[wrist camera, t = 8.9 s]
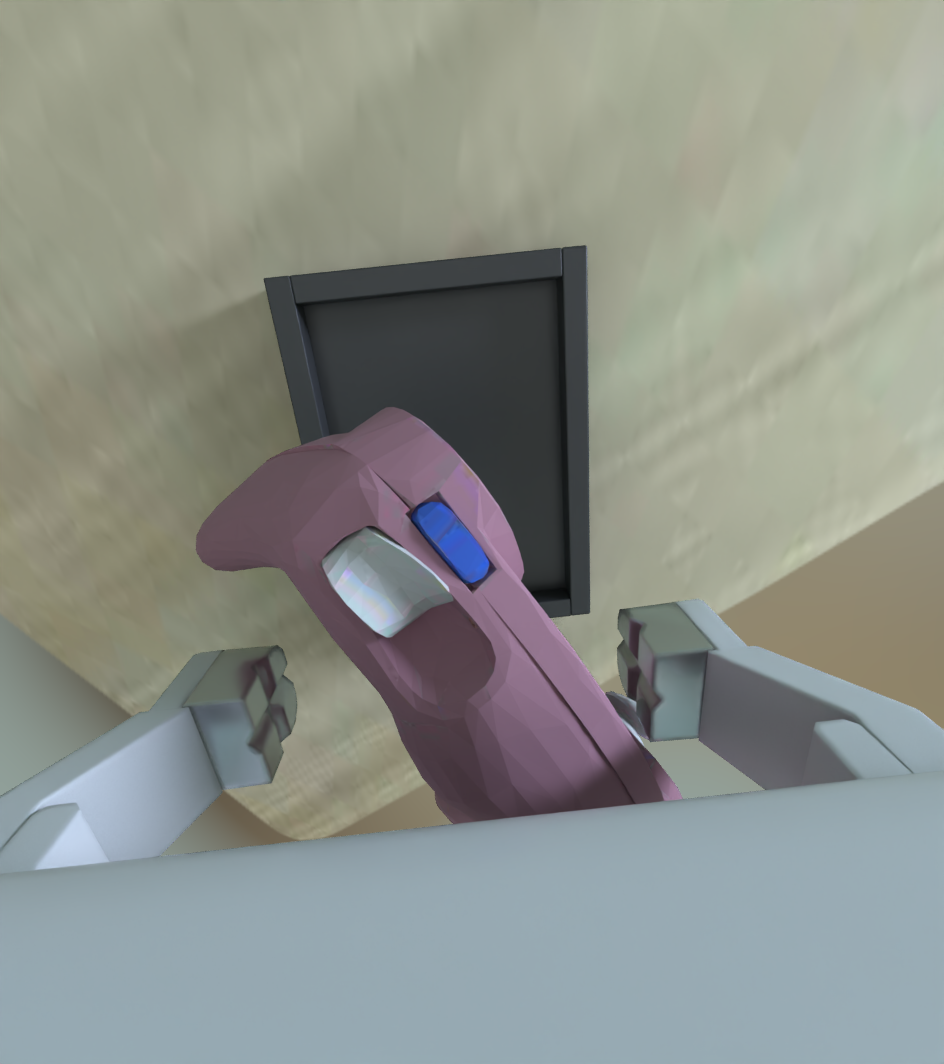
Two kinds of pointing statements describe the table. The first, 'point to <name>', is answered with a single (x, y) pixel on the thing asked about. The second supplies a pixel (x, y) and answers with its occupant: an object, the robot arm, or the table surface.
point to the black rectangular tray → (463, 382)
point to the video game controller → (438, 621)
